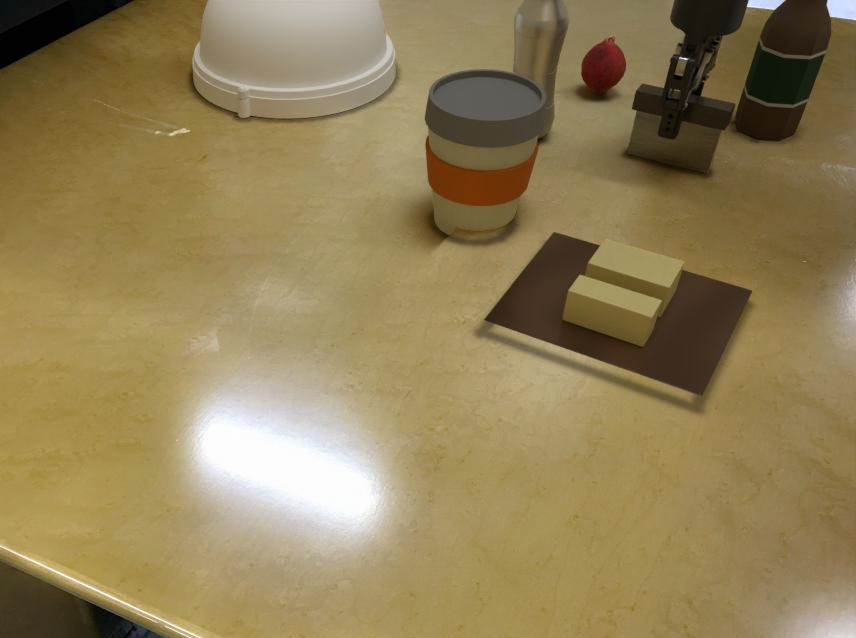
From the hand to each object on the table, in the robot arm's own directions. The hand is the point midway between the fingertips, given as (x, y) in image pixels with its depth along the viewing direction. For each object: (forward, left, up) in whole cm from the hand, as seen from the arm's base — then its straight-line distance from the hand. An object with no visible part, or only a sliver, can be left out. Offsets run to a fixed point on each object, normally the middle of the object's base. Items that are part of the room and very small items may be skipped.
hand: (677, 123), depth 108 cm
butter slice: (-5, +37, -4) cm, 37 cm away
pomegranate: (+14, -14, -5) cm, 21 cm away
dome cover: (+55, +1, -5) cm, 55 cm away
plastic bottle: (+18, +2, -5) cm, 19 cm away
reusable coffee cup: (+15, +24, -5) cm, 29 cm away
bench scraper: (0, 0, -5) cm, 5 cm away
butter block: (-5, +31, -4) cm, 31 cm away
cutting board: (-5, +33, -5) cm, 34 cm away
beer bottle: (-8, -15, -5) cm, 18 cm away
